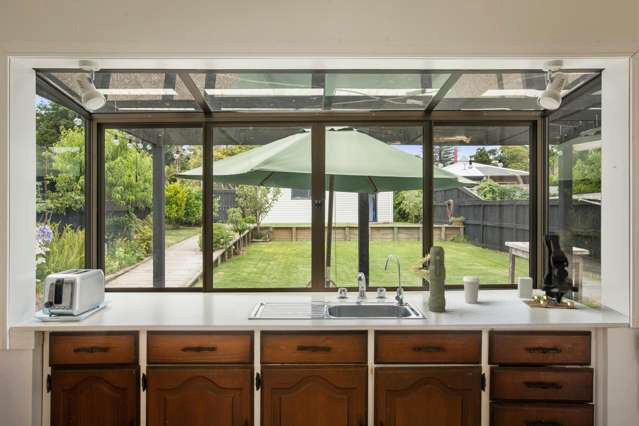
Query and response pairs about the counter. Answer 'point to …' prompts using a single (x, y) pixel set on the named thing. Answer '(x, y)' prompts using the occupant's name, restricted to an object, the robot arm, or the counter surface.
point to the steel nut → (551, 302)
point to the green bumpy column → (437, 280)
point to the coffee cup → (471, 289)
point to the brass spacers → (544, 303)
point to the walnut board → (537, 305)
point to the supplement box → (525, 287)
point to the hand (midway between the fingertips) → (558, 303)
